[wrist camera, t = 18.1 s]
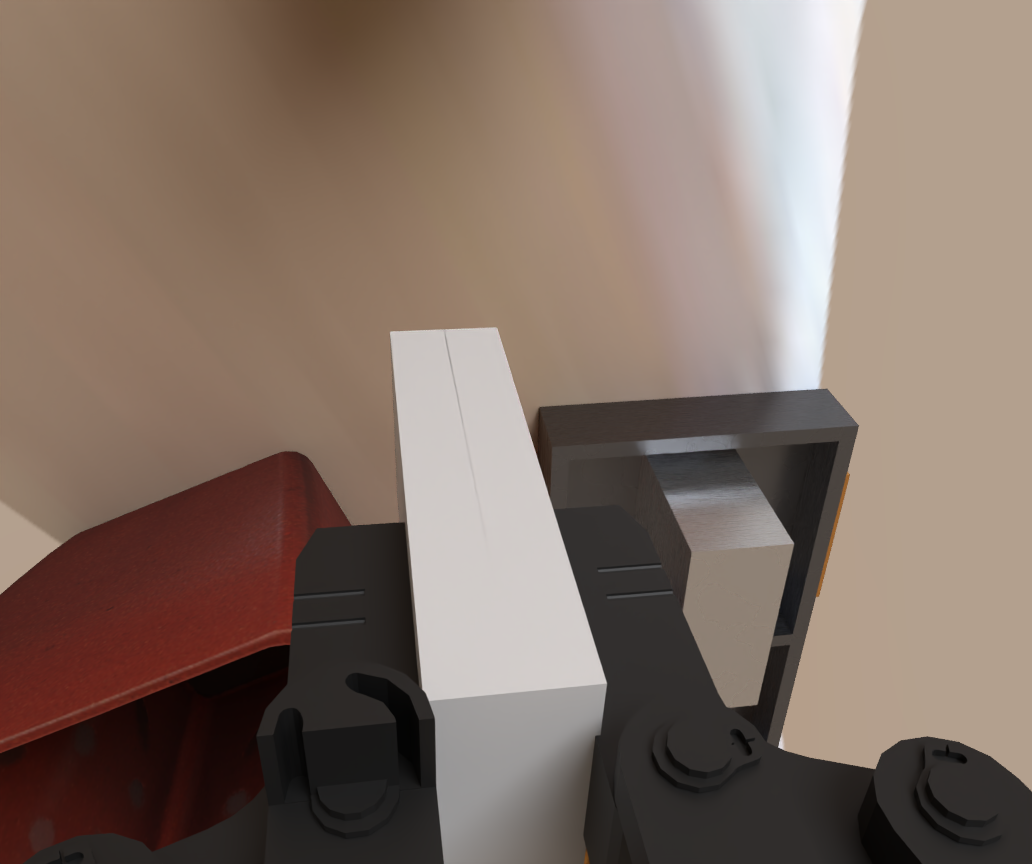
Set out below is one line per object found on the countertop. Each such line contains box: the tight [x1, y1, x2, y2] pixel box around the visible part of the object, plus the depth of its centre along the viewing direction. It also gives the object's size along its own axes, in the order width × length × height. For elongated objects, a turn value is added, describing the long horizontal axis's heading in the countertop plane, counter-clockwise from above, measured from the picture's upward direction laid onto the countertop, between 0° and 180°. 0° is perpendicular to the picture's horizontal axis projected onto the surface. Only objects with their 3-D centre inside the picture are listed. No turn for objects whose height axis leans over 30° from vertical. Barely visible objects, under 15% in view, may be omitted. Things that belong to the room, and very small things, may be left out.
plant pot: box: [0, 451, 351, 864], centre depth 40 cm, size 19×19×17 cm
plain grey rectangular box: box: [635, 449, 794, 708], centre depth 45 cm, size 4×10×8 cm, turn 179°
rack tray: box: [538, 389, 859, 747], centre depth 51 cm, size 15×28×4 cm, turn 179°
